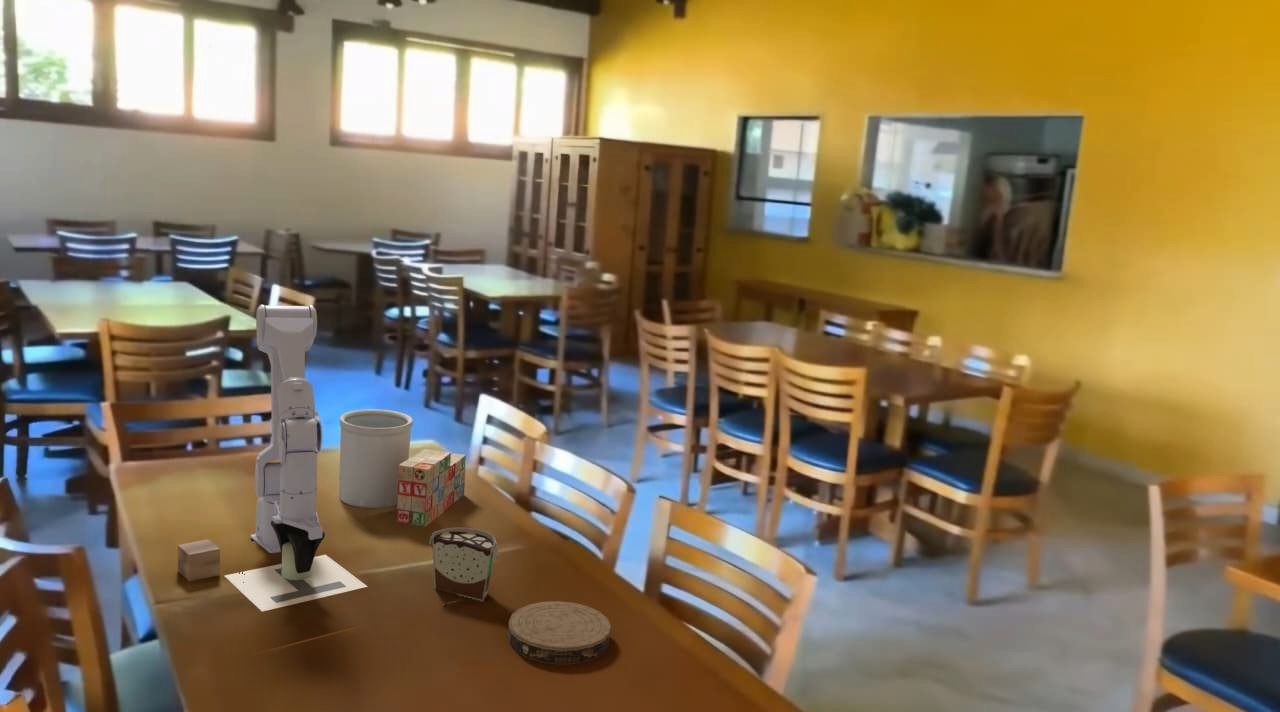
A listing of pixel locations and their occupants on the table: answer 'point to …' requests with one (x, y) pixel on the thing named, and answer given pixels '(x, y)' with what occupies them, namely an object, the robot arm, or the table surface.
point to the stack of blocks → (429, 485)
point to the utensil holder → (372, 456)
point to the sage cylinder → (292, 564)
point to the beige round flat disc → (559, 632)
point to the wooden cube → (198, 560)
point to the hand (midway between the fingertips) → (296, 566)
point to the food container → (463, 561)
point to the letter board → (294, 584)
